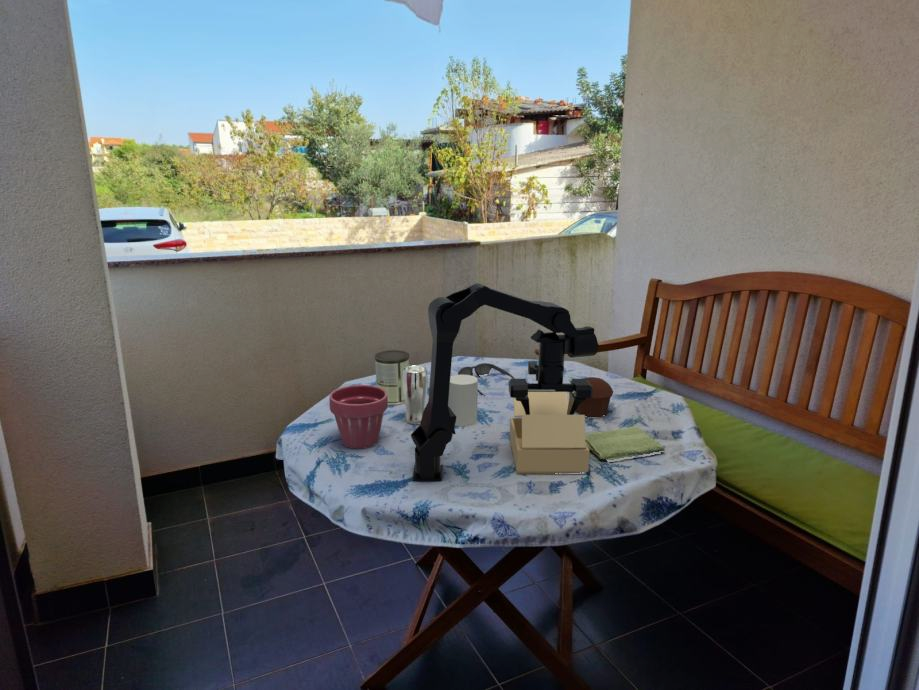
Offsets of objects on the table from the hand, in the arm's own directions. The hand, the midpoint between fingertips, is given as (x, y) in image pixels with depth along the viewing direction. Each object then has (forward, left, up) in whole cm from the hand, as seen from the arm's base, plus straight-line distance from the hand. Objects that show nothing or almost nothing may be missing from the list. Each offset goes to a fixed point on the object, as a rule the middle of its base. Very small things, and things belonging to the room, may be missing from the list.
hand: (548, 422), depth 130 cm
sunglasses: (+50, +12, -10) cm, 52 cm away
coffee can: (+38, +41, -9) cm, 56 cm away
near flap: (-7, 0, +1) cm, 7 cm away
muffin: (+28, -17, -9) cm, 34 cm away
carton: (+1, 0, -9) cm, 9 cm away
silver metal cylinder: (+22, +33, -9) cm, 40 cm away
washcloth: (+5, -19, -10) cm, 22 cm away
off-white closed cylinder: (+22, +20, -9) cm, 31 cm away
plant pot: (+9, +46, -9) cm, 48 cm away
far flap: (+12, 0, 0) cm, 12 cm away
